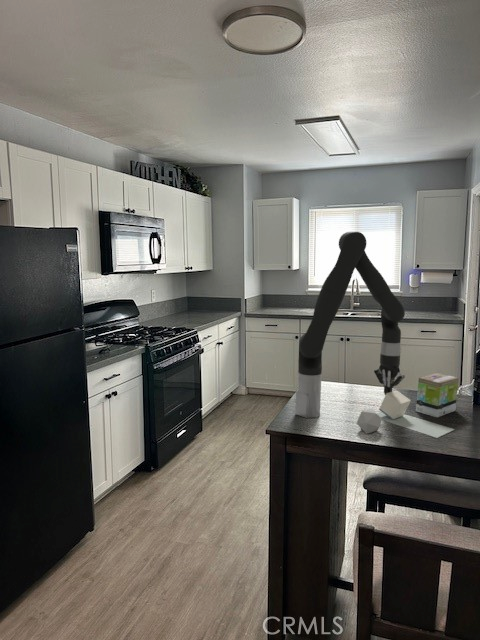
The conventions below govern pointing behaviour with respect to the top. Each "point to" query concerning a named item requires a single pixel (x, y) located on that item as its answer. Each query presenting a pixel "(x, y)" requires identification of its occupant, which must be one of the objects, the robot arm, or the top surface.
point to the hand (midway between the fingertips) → (387, 395)
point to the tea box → (437, 394)
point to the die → (369, 421)
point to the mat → (418, 425)
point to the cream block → (394, 405)
